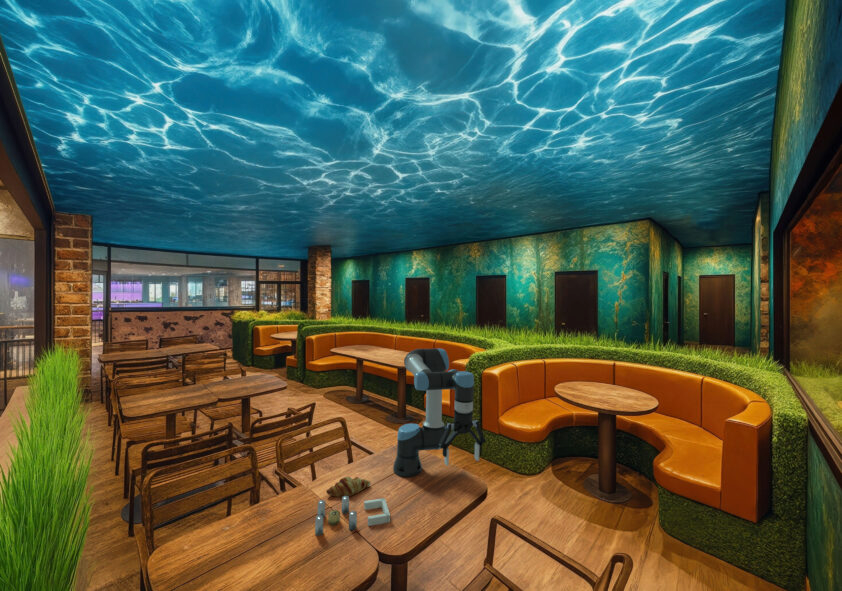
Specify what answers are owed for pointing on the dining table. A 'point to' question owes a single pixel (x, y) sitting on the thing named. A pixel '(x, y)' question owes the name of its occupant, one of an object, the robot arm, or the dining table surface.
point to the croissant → (348, 486)
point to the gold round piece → (334, 517)
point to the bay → (381, 517)
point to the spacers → (344, 510)
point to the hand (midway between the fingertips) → (461, 461)
